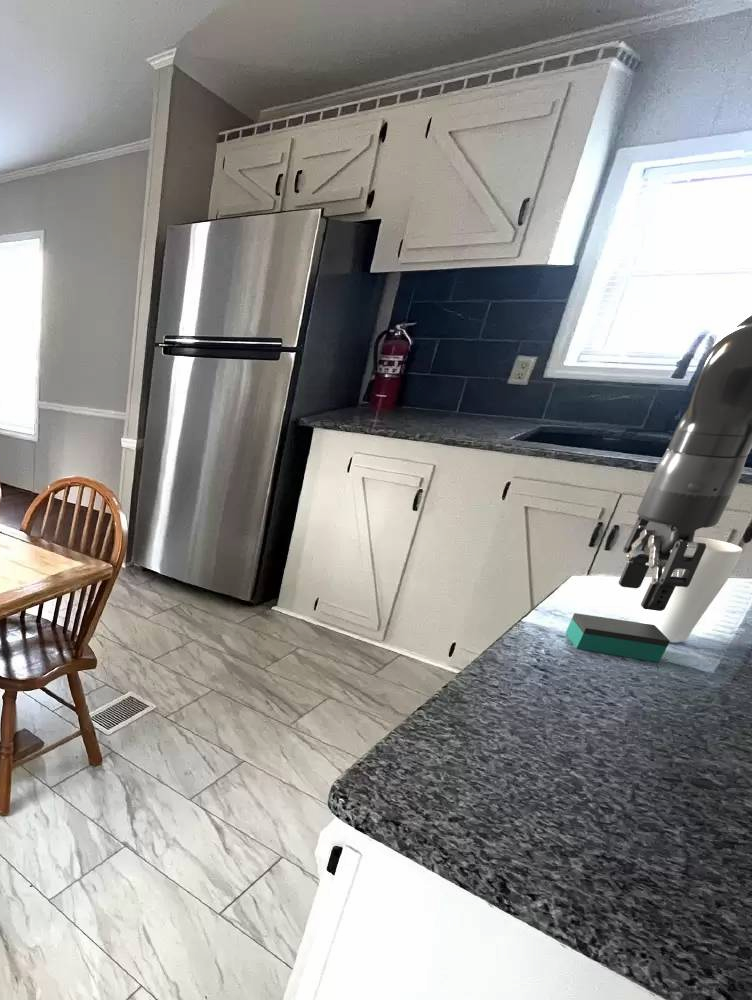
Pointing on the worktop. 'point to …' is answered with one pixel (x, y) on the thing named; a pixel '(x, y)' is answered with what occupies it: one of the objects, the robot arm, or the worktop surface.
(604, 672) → the worktop surface
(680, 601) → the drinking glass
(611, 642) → the sponge
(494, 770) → the worktop surface
